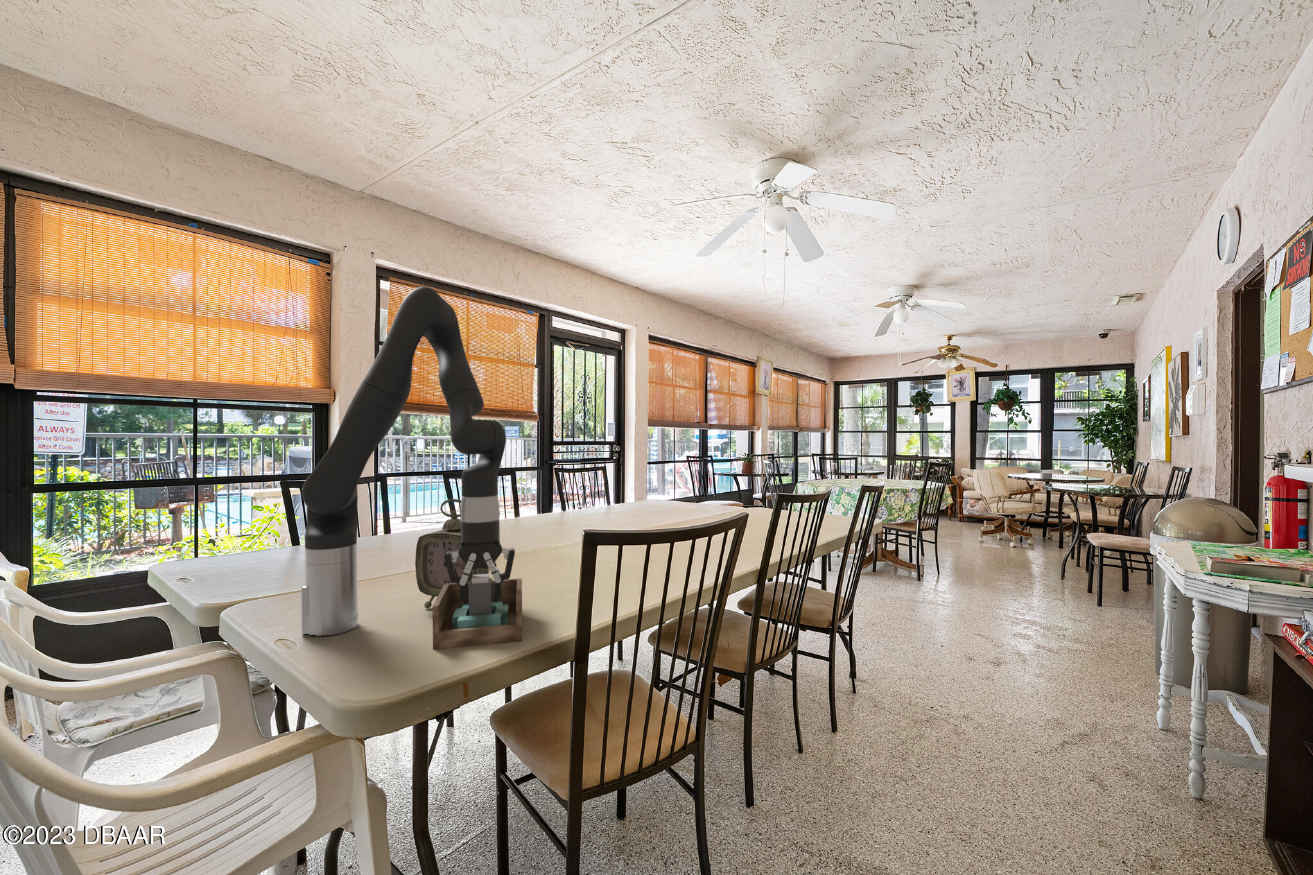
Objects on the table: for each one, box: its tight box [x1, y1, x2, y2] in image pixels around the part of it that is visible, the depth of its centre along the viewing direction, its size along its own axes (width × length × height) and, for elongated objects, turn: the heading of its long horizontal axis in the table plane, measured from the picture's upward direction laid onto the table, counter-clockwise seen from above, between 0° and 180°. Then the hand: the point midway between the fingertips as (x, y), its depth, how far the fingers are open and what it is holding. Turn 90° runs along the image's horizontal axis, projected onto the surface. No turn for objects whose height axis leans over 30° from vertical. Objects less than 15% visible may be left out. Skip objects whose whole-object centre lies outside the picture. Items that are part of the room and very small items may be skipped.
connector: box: [469, 573, 493, 616], centre depth 111 cm, size 4×4×10 cm
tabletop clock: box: [414, 498, 490, 609], centre depth 127 cm, size 14×9×25 cm, turn 76°
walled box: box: [432, 577, 523, 650], centre depth 111 cm, size 16×16×8 cm
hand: (481, 601), depth 111 cm, fingers open, 5 cm apart
